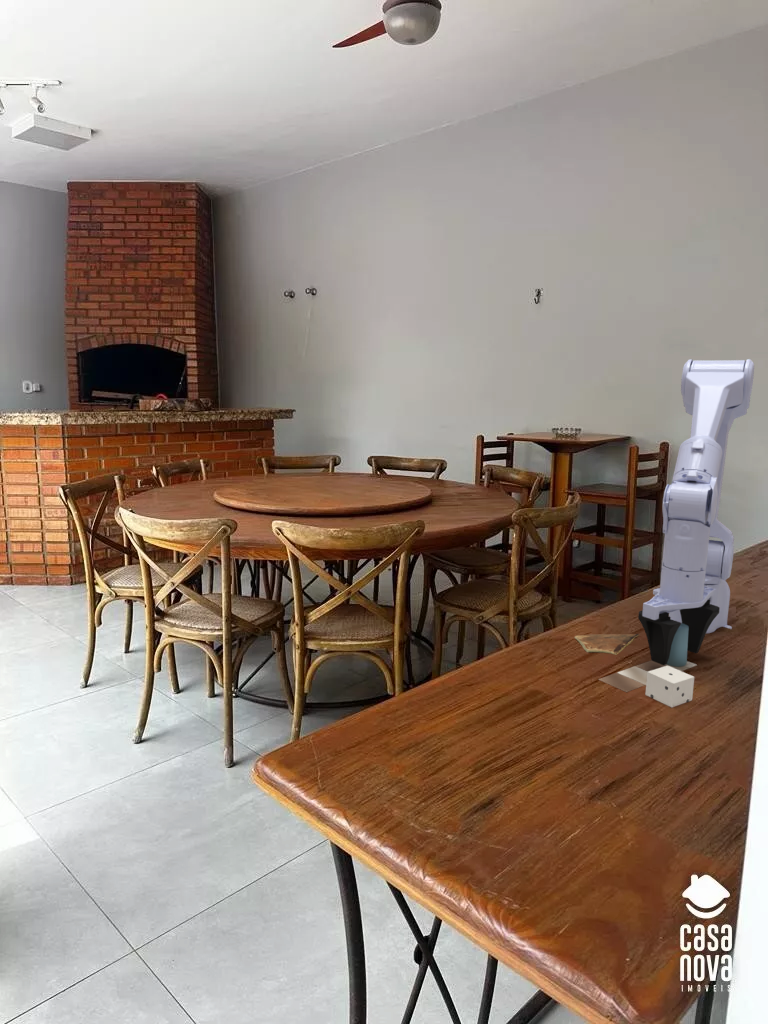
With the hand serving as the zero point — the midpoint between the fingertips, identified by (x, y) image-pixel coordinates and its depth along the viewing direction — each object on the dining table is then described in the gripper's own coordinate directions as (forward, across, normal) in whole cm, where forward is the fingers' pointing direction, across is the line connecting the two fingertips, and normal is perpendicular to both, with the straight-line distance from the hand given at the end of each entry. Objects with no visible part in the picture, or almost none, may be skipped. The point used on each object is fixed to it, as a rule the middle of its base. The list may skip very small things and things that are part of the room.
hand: (675, 656), depth 99 cm
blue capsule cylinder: (+1, 0, 0) cm, 1 cm away
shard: (+2, +2, -11) cm, 12 cm away
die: (+2, +11, +6) cm, 12 cm away
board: (+2, +6, 0) cm, 6 cm away
